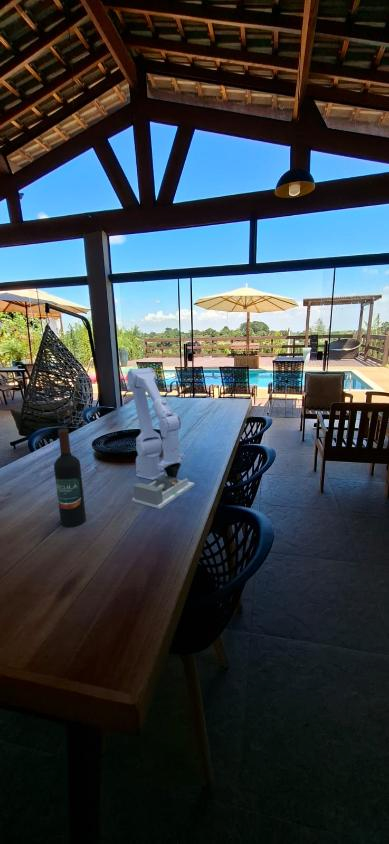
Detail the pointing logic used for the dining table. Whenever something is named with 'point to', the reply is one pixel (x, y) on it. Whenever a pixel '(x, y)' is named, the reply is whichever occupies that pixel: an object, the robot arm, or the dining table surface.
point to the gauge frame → (159, 493)
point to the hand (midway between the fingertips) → (172, 482)
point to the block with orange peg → (166, 482)
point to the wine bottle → (69, 484)
